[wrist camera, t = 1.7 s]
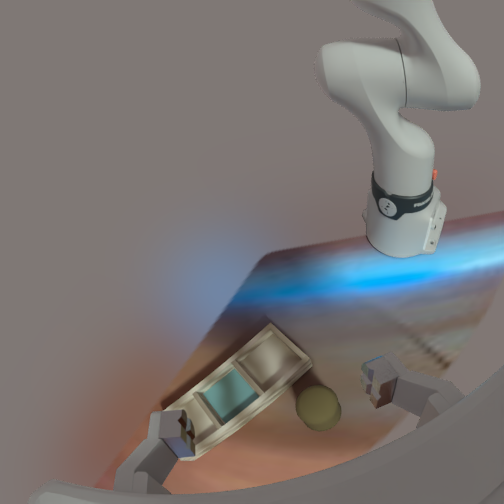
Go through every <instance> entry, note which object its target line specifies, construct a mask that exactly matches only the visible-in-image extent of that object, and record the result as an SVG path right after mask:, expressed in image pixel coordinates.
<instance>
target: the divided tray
mask: <svg viewBox="0 0 504 504" xmlns="http://www.w3.org/2000/svg"><path fill="white" fill-rule="evenodd" d="M311 367H312V363H311V360H310V358H309V357H308V356H307V355H305V354H304V353H303V352H302V351H301V350H300V349H299V348H298V347H297V346H295V345H294V344H293V343H292V342H291V341H290V340H289V339H288V338H287V337H286V336H285V335H283V334H282V333H281V332H280V331H279V330H278V329H277V328H276V327H275V326H274V325H273V324H272V323H269V324H268V325H267V326H266V327H265V328H264V329H263V330H262V331H260V332H259V333H258V334H257V335H256V336H255V337H254V338H252V339H251V340H250V341H249V342H248V343H247V344H246V345H244V346H243V347H242V348H241V349H240V350H239V351H237V352H236V353H235V354H234V355H233V356H232V357H230V358H229V359H228V360H227V361H226V362H224V363H223V364H222V365H221V366H220V367H218V368H217V369H216V370H215V371H213V372H212V373H211V374H210V375H208V376H207V377H206V378H205V379H204V380H202V381H201V382H200V383H199V384H197V385H196V386H195V387H193V388H192V389H191V390H190V391H188V392H187V393H186V394H184V395H183V396H182V397H181V398H179V399H178V400H177V401H175V402H174V403H173V404H171V405H170V406H169V407H167V408H166V409H165V410H163V411H170V410H181V409H184V410H185V411H186V413H187V418H189V419H191V421H192V423H193V425H194V429H195V438H194V440H193V442H194V444H195V453H196V456H193V457H184V458H180V460H181V461H194V460H196V459H197V458H199V457H200V456H202V455H203V454H205V453H206V452H208V451H209V450H211V449H212V448H213V447H215V446H216V445H218V444H219V443H221V442H222V441H223V440H225V439H226V438H227V437H229V436H230V435H232V434H233V433H234V432H236V431H237V430H238V429H240V428H241V427H242V426H243V425H245V424H246V423H247V422H249V421H250V420H251V419H252V418H254V417H255V416H256V415H257V414H259V413H260V412H261V411H262V410H263V409H265V408H266V407H267V406H268V405H269V404H271V403H272V402H273V401H274V400H275V399H277V398H278V397H279V396H280V395H281V394H282V393H283V392H285V391H286V390H287V389H288V388H289V387H290V386H291V385H292V384H293V383H295V382H296V381H297V380H298V379H299V378H300V377H301V376H302V375H303V374H304V373H305V372H306V371H307V370H309V369H310V368H311Z"/></svg>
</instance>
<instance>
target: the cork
mask: <svg viewBox="0 0 504 504" xmlns="http://www.w3.org/2000/svg"><path fill="white" fill-rule="evenodd" d="M296 412H297V414H298V416H299V417H300V419H301V420H303V421H304V423H305V424H306V425H307V427H309V428H311V429H312V430H316V431H325V430H328V429H330V428H332V427H333V426H335V425H336V424H337V422H338V421H339V419H340V416H341V407H340V404H339V402H338V398H337V396H336V394H335V393H334V391H333V390H332V389H330V388H328V387H326V386H322V385H315V386H311V387H308V388H306V389H305V390H304V391H302V392H301V394H300V395H299V396H298V398H297V401H296Z"/></svg>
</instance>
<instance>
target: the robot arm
mask: <svg viewBox="0 0 504 504" xmlns="http://www.w3.org/2000/svg"><path fill="white" fill-rule="evenodd" d="M350 1H351V2H352V3H353V4H354V5H355V6H356V7H357V8H359V9H361V10H362V11H364V12H366V13H368V14H370V15H372V16H375V17H377V18H380V19H382V20H385V21H387V22H389V23H391V24H393V25H395V26H396V27H398V28H399V29H400V33H401V35H400V37H398V38H350V39H345V40H341V41H337V42H333V43H329V44H327V45H323V46H322V47H321V49H320V50H319V52H318V54H317V56H316V59H315V64H314V71H315V77H316V80H317V83H318V85H319V87H320V88H321V90H322V91H323V92H324V94H325V95H326V96H327V97H328V98H329V99H331V100H332V101H333V102H335V103H337V104H339V105H341V106H342V107H344V108H345V109H347V110H348V111H349V112H350V113H352V114H353V115H354V116H355V117H356V118H357V119H358V121H359V122H360V123H361V124H362V126H363V127H364V129H365V130H366V132H367V135H368V137H369V140H370V144H371V149H372V156H373V166H374V170H373V173H372V178H371V187H372V188H371V189H369V191H368V200H367V208H366V209H365V210H364V211H363V214H362V217H363V219H364V221H365V222H366V234H367V237H368V239H369V241H370V243H371V244H372V245H373V246H374V247H375V248H376V249H377V250H379V251H380V252H382V253H384V254H386V255H389V256H392V257H399V258H405V257H411V256H415V255H418V254H433V253H434V252H435V250H436V247H437V244H438V241H439V237H440V234H441V230H442V227H443V223H444V219H445V216H446V210H447V208H446V206H445V205H444V204H443V203H442V202H441V201H440V191H439V190H438V189H437V188H436V187H435V186H434V185H433V180H432V179H435V178H436V176H437V170H435V169H433V165H434V153H435V149H434V144H433V142H432V139H431V138H430V136H429V135H428V134H427V133H426V132H425V131H424V130H423V129H422V128H421V127H419V126H418V125H416V124H414V123H413V122H410V121H409V120H407V119H406V118H404V117H403V116H402V115H401V114H400V113H399V112H398V111H399V109H400V108H405V107H406V108H419V109H429V110H438V111H456V110H467V109H471V108H472V107H473V106H474V105H475V103H476V102H477V100H478V97H479V94H480V87H481V84H480V78H479V73H478V71H477V68H476V66H475V65H474V63H473V61H472V60H471V58H470V57H469V56H468V55H467V54H466V53H465V52H464V51H463V50H462V49H461V48H460V47H459V46H458V45H457V44H456V43H455V41H454V40H453V39H452V38H451V36H450V35H449V34H448V32H447V31H446V29H445V28H444V26H443V24H442V22H441V20H440V19H439V16H438V14H437V12H436V9H435V7H434V4H433V0H350ZM362 371H363V374H362V375H361V385H362V387H363V390H364V391H365V393H366V394H369V395H370V401H371V402H372V404H373V405H374V407H375V408H376V409H377V408H379V407H382V406H384V405H386V404H389V403H391V402H392V404H394V405H396V406H398V407H401V408H403V409H405V410H407V411H409V412H411V413H413V414H415V415H417V416H419V417H420V419H419V422H418V424H417V427H416V428H417V429H416V430H414V431H412V432H410V433H408V434H407V435H404V436H403V437H401V438H399V439H397V440H395V441H393V442H391V443H389V444H387V445H385V446H383V447H381V448H378V449H376V450H374V451H372V452H369V453H367V454H365V455H362V456H360V457H357V458H355V459H352V460H350V461H347V462H345V463H342V464H339V465H336V466H334V467H331V468H328V469H325V470H322V471H318V472H315V473H312V474H308V475H305V476H301V477H298V478H294V479H290V480H286V481H282V482H277V483H273V484H268V485H263V486H258V487H252V488H246V489H239V490H232V491H223V492H213V493H200V494H171V493H170V492H169V491H168V490H167V489H166V488H164V487H163V486H162V484H163V482H164V481H165V479H166V478H167V476H168V475H169V473H170V471H171V470H172V468H173V467H174V465H175V464H176V462H177V460H178V458H184V457H193V456H196V453H195V444H194V442H193V440H194V438H195V429H194V425H193V423H192V421H191V419H189V418H187V413H186V411H185V410H184V409H181V410H170V411H158V412H152V414H151V417H150V423H149V430H148V437H147V439H144V440H143V442H142V443H141V444H140V445H139V446H138V447H137V448H136V449H135V450H134V451H133V452H132V454H131V455H130V456H129V457H128V458H127V459H126V460H125V461H124V462H123V463H122V464H121V465H120V466H119V468H118V469H117V470H116V476H115V482H114V489H113V491H111V490H104V489H97V488H92V487H86V486H81V485H76V484H72V483H68V482H63V481H60V480H55V479H52V480H49V481H48V482H46V483H45V484H43V485H42V486H41V487H39V488H38V489H37V490H35V491H34V492H33V493H32V495H31V496H30V498H29V500H28V503H27V504H504V365H503V366H502V367H501V368H500V369H499V370H498V371H497V372H496V373H494V374H493V375H492V376H491V377H490V378H489V379H487V380H486V381H485V382H484V383H483V384H482V385H480V386H479V387H478V388H476V389H475V390H474V391H473V392H471V393H470V394H469V395H467V396H466V397H465V396H464V395H463V394H462V393H461V392H460V390H459V389H458V388H457V387H456V386H455V385H454V384H453V383H452V382H450V381H447V380H443V379H440V378H436V377H433V376H429V375H426V374H422V373H419V372H416V371H413V370H412V371H409V370H408V369H407V368H406V367H405V366H404V365H403V363H402V362H401V361H400V360H399V359H398V358H397V357H396V356H395V354H394V353H393V352H389V353H387V354H384V355H382V356H379V357H377V358H375V359H372V360H370V361H367V362H365V363H363V364H362Z"/></svg>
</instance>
